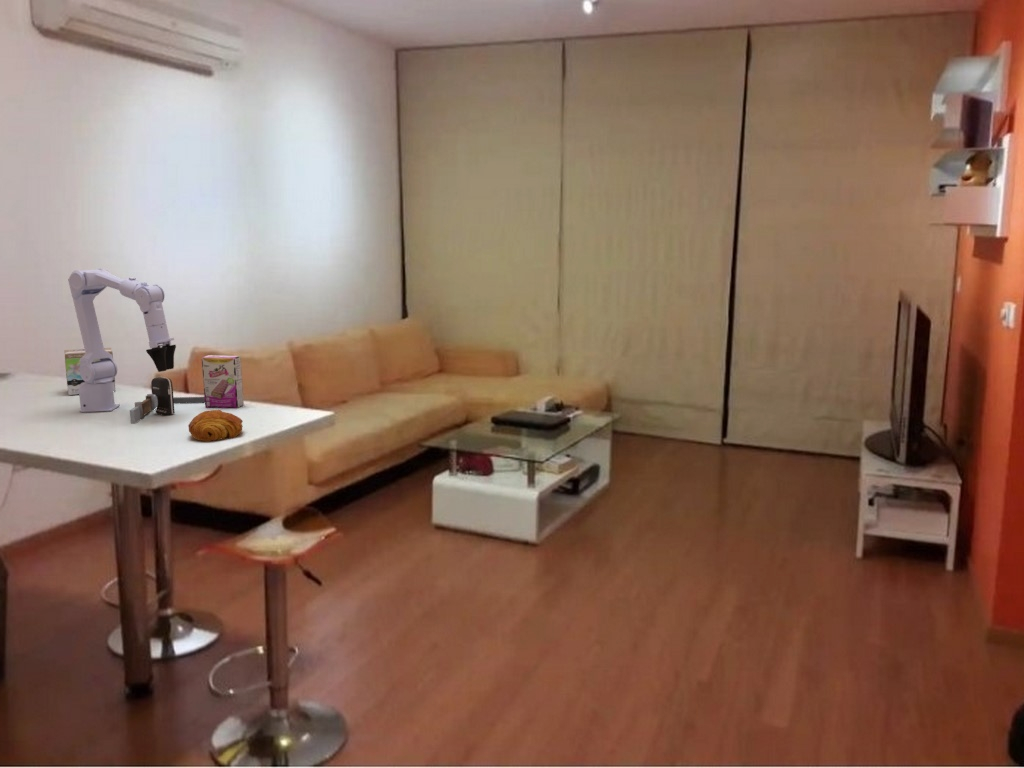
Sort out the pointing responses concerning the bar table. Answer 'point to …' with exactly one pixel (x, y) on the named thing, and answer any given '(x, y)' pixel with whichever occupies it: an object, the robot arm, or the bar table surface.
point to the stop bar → (189, 399)
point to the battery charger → (163, 395)
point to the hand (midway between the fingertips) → (166, 370)
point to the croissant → (215, 425)
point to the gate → (147, 405)
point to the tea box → (77, 369)
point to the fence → (137, 411)
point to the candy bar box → (222, 381)
